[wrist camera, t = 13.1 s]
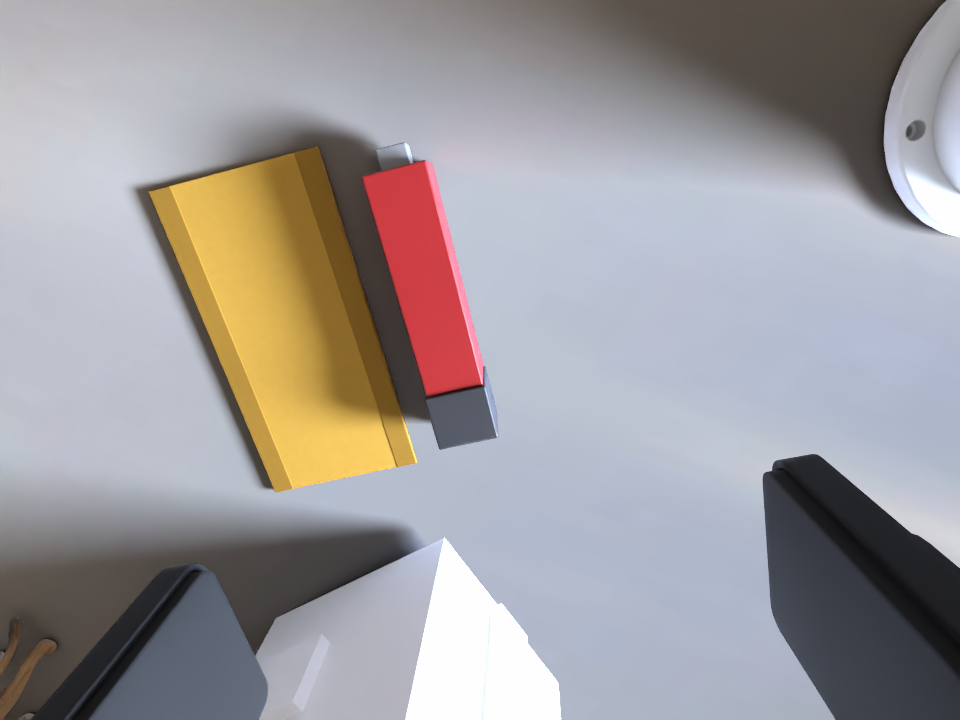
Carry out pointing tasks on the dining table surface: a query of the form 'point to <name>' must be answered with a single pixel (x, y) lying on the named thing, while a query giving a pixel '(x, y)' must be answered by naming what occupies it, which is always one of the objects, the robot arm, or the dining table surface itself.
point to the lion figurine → (12, 692)
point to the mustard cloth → (288, 318)
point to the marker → (431, 297)
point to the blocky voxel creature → (405, 651)
